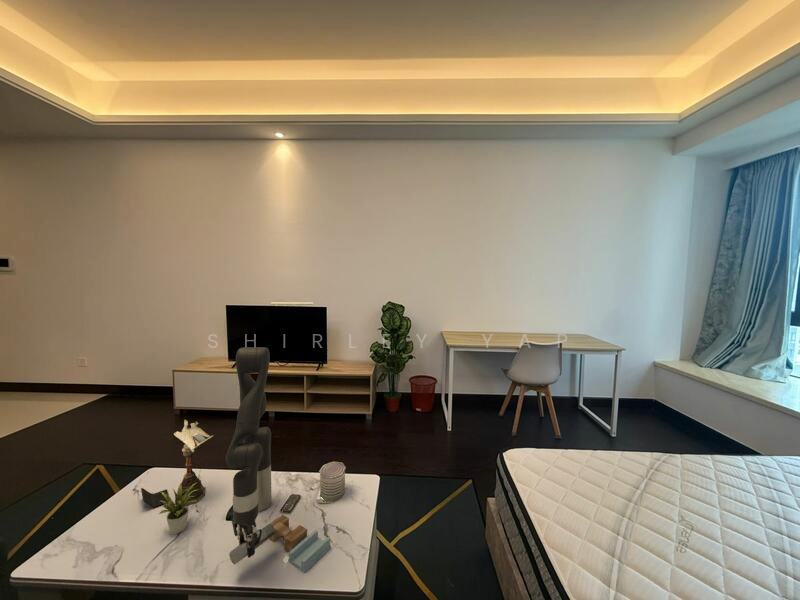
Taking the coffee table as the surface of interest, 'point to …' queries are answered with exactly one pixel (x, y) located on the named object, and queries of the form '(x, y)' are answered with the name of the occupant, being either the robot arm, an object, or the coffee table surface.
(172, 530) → the house plant
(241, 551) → the axle
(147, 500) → the dark v-shaped block
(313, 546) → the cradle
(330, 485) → the can
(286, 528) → the brown h-shaped block
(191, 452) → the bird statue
